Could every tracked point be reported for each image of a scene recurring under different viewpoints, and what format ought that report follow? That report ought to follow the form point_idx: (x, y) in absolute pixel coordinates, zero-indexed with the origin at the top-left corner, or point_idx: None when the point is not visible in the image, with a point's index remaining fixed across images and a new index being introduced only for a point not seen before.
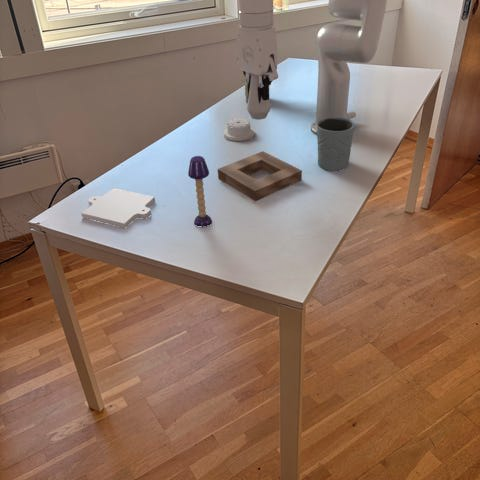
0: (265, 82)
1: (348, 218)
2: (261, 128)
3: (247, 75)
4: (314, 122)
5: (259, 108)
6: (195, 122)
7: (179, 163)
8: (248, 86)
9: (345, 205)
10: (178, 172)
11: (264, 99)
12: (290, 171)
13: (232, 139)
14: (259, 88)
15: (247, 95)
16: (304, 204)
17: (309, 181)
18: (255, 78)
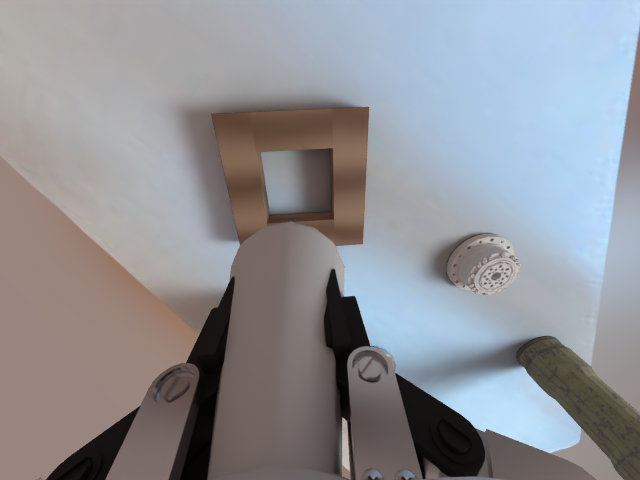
0: (116, 437)
1: (79, 221)
2: (458, 302)
3: (375, 420)
4: (393, 364)
5: (237, 260)
6: (600, 227)
7: (500, 72)
8: (336, 327)
9: (126, 244)
10: (467, 36)
11: (214, 311)
12: (250, 233)
13: (471, 239)
14: (199, 353)
15: (562, 349)
16: (160, 191)
17: (235, 250)
18: (232, 432)
